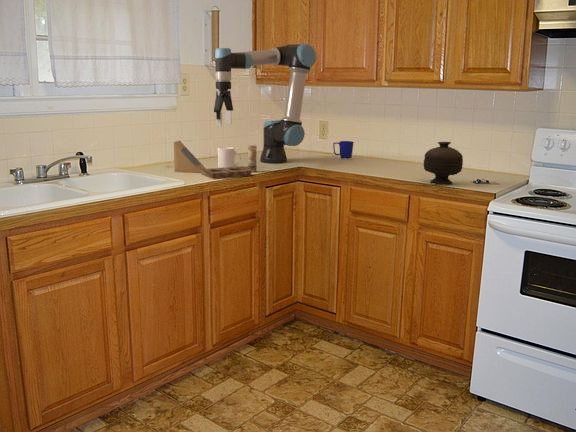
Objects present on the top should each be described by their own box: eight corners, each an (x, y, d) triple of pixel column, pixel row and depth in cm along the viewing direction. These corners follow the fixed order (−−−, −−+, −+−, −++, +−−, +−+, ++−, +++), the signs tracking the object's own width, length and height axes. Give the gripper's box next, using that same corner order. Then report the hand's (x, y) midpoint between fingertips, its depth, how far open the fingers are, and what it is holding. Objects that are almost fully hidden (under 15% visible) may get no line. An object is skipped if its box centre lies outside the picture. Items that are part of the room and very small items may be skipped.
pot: (415, 182, 267) (421, 139, 264) (427, 180, 282) (433, 139, 279) (453, 188, 258) (460, 143, 255) (463, 185, 273) (470, 143, 270)
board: (238, 171, 290) (238, 166, 289) (250, 175, 278) (251, 170, 278) (201, 174, 279) (201, 169, 279) (213, 178, 268) (213, 173, 267)
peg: (253, 170, 293) (254, 145, 290) (257, 172, 290) (258, 146, 287) (246, 171, 291) (246, 145, 288) (250, 172, 288) (250, 146, 285)
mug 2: (333, 156, 351) (333, 140, 349) (352, 157, 349) (353, 141, 347) (332, 158, 343) (332, 141, 341) (352, 159, 342) (353, 142, 339)
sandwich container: (203, 173, 282) (203, 143, 278) (174, 172, 284) (173, 142, 280) (209, 171, 290) (208, 141, 286) (180, 169, 292) (179, 140, 289)
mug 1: (238, 170, 293) (238, 149, 290) (215, 169, 295) (215, 148, 292) (242, 168, 301) (242, 147, 299) (220, 166, 303) (220, 146, 300)
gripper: (225, 80, 292) (225, 122, 297) (206, 81, 269) (207, 126, 274) (239, 80, 290) (239, 123, 296) (221, 81, 267) (222, 127, 272)
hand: (223, 124), depth 285 cm, fingers open, 13 cm apart
